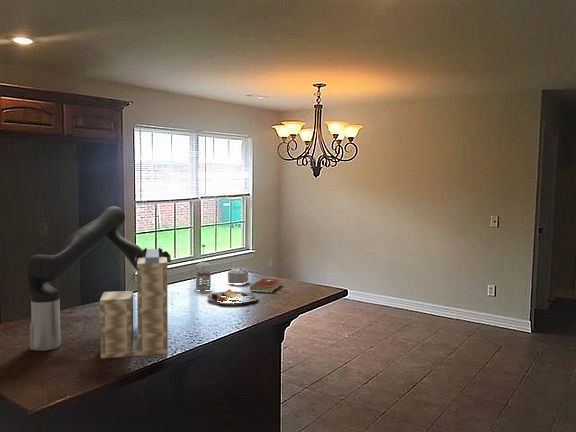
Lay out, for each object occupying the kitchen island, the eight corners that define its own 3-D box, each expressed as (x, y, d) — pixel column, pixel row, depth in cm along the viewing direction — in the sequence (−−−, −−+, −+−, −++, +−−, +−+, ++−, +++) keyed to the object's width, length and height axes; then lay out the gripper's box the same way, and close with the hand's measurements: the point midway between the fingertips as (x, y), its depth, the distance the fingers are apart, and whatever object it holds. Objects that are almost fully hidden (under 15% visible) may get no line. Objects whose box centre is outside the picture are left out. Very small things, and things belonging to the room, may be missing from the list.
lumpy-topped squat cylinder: (225, 284, 290) (225, 269, 290) (236, 280, 302) (237, 266, 302) (241, 286, 286) (241, 271, 286) (252, 282, 298) (252, 267, 297)
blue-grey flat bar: (145, 263, 171) (145, 257, 171) (146, 254, 190) (146, 249, 190) (158, 263, 172) (158, 257, 172) (158, 254, 192) (158, 249, 191)
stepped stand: (100, 358, 170) (99, 264, 168) (104, 346, 181) (103, 258, 179) (167, 353, 175) (167, 262, 173) (167, 342, 187) (166, 257, 185)
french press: (210, 292, 270) (211, 245, 268) (189, 291, 270) (189, 245, 268) (213, 288, 280) (214, 243, 278) (193, 287, 280) (193, 243, 278)
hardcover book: (250, 292, 272) (250, 284, 272) (262, 284, 292) (262, 277, 292) (271, 294, 269) (271, 286, 269) (281, 286, 289) (282, 279, 289)
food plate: (198, 299, 252) (198, 292, 252) (233, 293, 269) (233, 286, 269) (231, 310, 235) (231, 303, 235) (266, 302, 252) (266, 295, 252)
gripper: (134, 257, 200) (132, 241, 185) (171, 256, 204) (172, 240, 189) (134, 275, 197) (132, 260, 182) (171, 274, 201) (172, 259, 186)
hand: (152, 250), depth 186 cm, fingers closed on blue-grey flat bar, 4 cm apart
